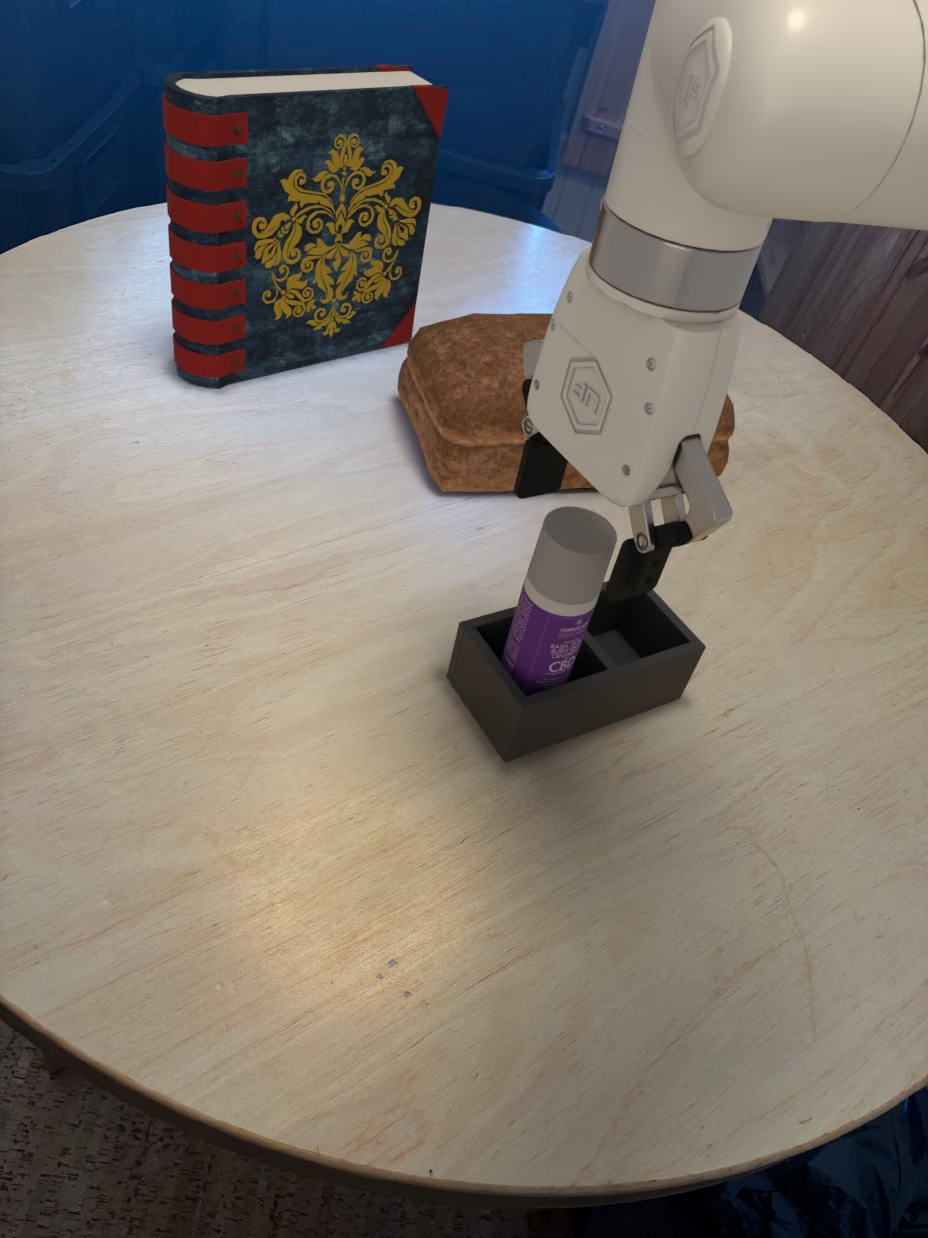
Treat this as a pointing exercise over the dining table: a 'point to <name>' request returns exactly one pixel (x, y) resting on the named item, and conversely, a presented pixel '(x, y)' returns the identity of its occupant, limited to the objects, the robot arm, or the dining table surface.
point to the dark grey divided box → (576, 673)
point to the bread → (487, 401)
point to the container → (558, 597)
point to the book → (295, 213)
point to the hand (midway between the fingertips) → (580, 540)
